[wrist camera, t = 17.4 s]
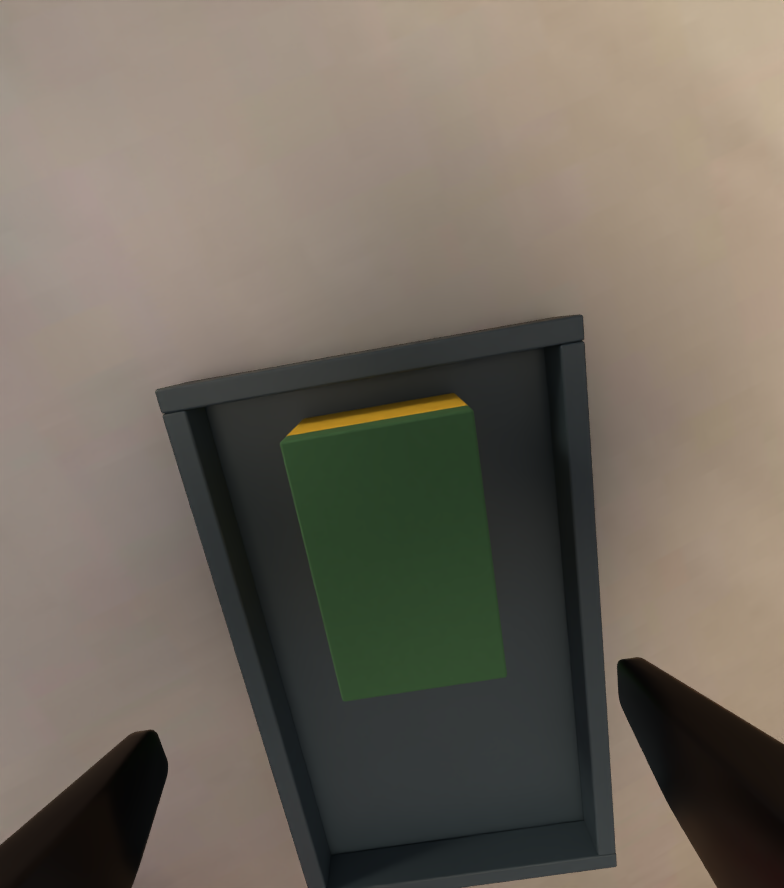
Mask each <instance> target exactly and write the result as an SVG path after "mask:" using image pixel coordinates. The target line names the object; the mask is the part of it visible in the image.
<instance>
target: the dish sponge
mask: <svg viewBox="0 0 784 888" xmlns="http://www.w3.org/2000/svg"><path fill="white" fill-rule="evenodd" d="M280 447H281V451H282V455H283V459H284V464H285V468H286V472H287V476H288V480H289V484H290V488H291V492H292V496H293V500H294V505H295V509H296V513H297V517H298V521H299V525H300V529H301V533H302V537H303V541H304V545H305V550H306V554H307V558H308V562H309V566H310V570H311V574H312V578H313V582H314V586H315V591H316V595H317V599H318V603H319V607H320V611H321V615H322V619H323V623H324V627H325V632H326V636H327V640H328V644H329V648H330V652H331V656H332V660H333V664H334V668H335V672H336V677H337V681H338V685H339V689H340V693H341V697H342V700H343V701H352V700H359V699H365V698H372V697H379V696H385V695H392V694H399V693H405V692H412V691H419V690H425V689H432V688H439V687H445V686H452V685H459V684H465V683H472V682H479V681H485V680H492V679H499V678H505V677H506V676H507V670H506V662H505V654H504V646H503V638H502V630H501V622H500V615H499V607H498V599H497V591H496V583H495V575H494V567H493V560H492V552H491V544H490V536H489V528H488V520H487V512H486V505H485V497H484V489H483V481H482V473H481V465H480V457H479V450H478V442H477V434H476V426H475V418H474V411H473V410H472V409H471V408H470V407H469V406H468V405H467V404H466V403H465V402H464V401H463V400H461V399H460V398H459V397H458V396H457V395H456V394H455V393H450V394H444V395H438V396H432V397H427V398H421V399H415V400H409V401H403V402H398V403H392V404H386V405H380V406H374V407H369V408H363V409H357V410H351V411H345V412H340V413H334V414H328V415H322V416H316V417H311V418H305V419H303V420H302V421H301V422H300V423H299V424H298V425H297V426H296V427H295V428H294V429H293V430H292V431H291V432H290V433H289V434H288V435H287V436H286V437H285V438H284V439H283V440H282V441H281V442H280Z"/></svg>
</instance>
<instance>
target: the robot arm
mask: <svg viewBox="0 0 784 888" xmlns="http://www.w3.org/2000/svg"><path fill="white" fill-rule="evenodd" d="M617 675H618V694H619V700H620V704H621V706H622V709H623V711H624V713H625V715H626V718H627V720H628V722H629V724H630V726H631V728H632V730H633V732H634V734H635V736H636V738H637V741H638V743H639V745H640V747H641V749H642V751H643V753H644V755H645V757H646V759H647V761H648V764H649V766H650V768H651V770H652V772H653V774H654V776H655V778H656V780H657V782H658V785H659V787H660V789H661V791H662V793H663V795H664V797H665V799H666V801H667V802H668V804H669V806H670V808H671V810H672V811H673V813H674V815H675V817H676V818H677V820H678V822H679V824H680V825H681V827H682V829H683V830H684V832H685V834H686V835H687V837H688V839H689V841H690V842H691V844H692V846H693V847H694V849H695V851H696V852H697V854H698V856H699V857H700V859H701V861H702V863H703V864H704V866H705V868H706V869H707V871H708V873H709V874H710V876H711V878H712V880H713V881H714V883H715V885H716V886H717V888H784V744H783V743H781V742H779V741H778V740H776V739H774V738H773V737H771V736H769V735H768V734H766V733H764V732H763V731H761V730H760V729H758V728H756V727H755V726H753V725H751V724H750V723H748V722H746V721H745V720H743V719H742V718H740V717H738V716H737V715H735V714H733V713H732V712H730V711H728V710H727V709H725V708H723V707H722V706H720V705H719V704H717V703H715V702H714V701H712V700H710V699H709V698H707V697H705V696H704V695H702V694H700V693H699V692H697V691H696V690H694V689H692V688H691V687H689V686H687V685H686V684H684V683H682V682H681V681H679V680H678V679H676V678H674V677H673V676H671V675H669V674H668V673H666V672H664V671H663V670H661V669H659V668H658V667H656V666H655V665H653V664H651V663H650V662H648V661H646V660H645V659H643V658H640V657H635V658H628V659H622V660H620V661H619V662H618V664H617ZM167 773H168V761H167V758H166V755H165V753H164V750H163V747H162V745H161V742H160V739H159V737H158V734H157V733H156V732H155V731H154V730H145V731H138V732H134V733H132V734H130V735H129V736H127V737H126V738H125V739H124V740H123V741H121V742H120V743H119V744H118V745H117V746H116V747H114V748H113V749H112V750H111V751H110V752H109V753H107V754H106V755H105V756H104V757H103V758H102V759H100V760H99V761H98V762H97V763H96V764H95V765H93V766H92V767H91V768H90V769H89V770H88V771H86V772H85V773H84V774H83V775H82V776H81V777H79V778H78V779H77V780H76V781H75V782H74V783H72V784H71V785H70V786H69V787H68V788H67V789H65V790H64V791H63V792H62V793H61V794H60V795H58V796H57V797H56V798H55V799H54V800H53V801H51V802H50V803H49V804H48V805H47V806H46V807H44V808H43V809H42V810H41V811H40V812H38V813H37V814H36V815H35V816H34V817H33V818H31V819H30V820H29V821H28V822H27V823H26V824H24V825H23V826H22V827H21V828H20V829H19V830H17V831H16V832H15V833H14V834H13V835H12V836H10V837H9V838H8V839H7V840H6V841H5V842H3V843H2V844H1V845H0V888H132V885H133V882H134V880H135V877H136V874H137V871H138V868H139V865H140V862H141V859H142V856H143V853H144V850H145V846H146V843H147V840H148V837H149V833H150V830H151V827H152V823H153V820H154V817H155V814H156V810H157V807H158V804H159V801H160V797H161V794H162V791H163V788H164V784H165V781H166V778H167Z"/></svg>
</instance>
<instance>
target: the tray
mask: <svg viewBox="0 0 784 888" xmlns="http://www.w3.org/2000/svg"><path fill="white" fill-rule="evenodd" d="M582 340H584V325H583V316H582V315H580V314H579V315H569V316H559V317H552V318H547V319H541V320H535V321H530V322H524V323H519V324H513V325H507V326H502V327H496V328H490V329H485V330H479V331H473V332H468V333H462V334H456V335H451V336H445V337H439V338H434V339H428V340H423V341H417V342H411V343H406V344H400V345H394V346H389V347H383V348H377V349H372V350H366V351H360V352H355V353H349V354H344V355H338V356H332V357H327V358H321V359H315V360H310V361H304V362H298V363H293V364H287V365H281V366H276V367H270V368H264V369H259V370H253V371H248V372H242V373H236V374H231V375H225V376H219V377H214V378H208V379H202V380H197V381H191V382H185V383H181V384H177V385H173V386H169V387H165V388H160V389H157V390H156V391H155V393H156V396H157V400H158V403H159V406H160V409H161V412H162V413H164V415H163V419H164V423H165V426H166V429H167V432H168V436H169V439H170V442H171V445H172V448H173V452H174V455H175V458H176V461H177V465H178V468H179V471H180V474H181V478H182V481H183V484H184V487H185V491H186V494H187V497H188V500H189V504H190V507H191V510H192V513H193V517H194V520H195V523H196V526H197V530H198V533H199V536H200V539H201V543H202V546H203V549H204V552H205V555H206V559H207V562H208V565H209V568H210V572H211V575H212V578H213V581H214V585H215V588H216V591H217V594H218V598H219V601H220V604H221V607H222V611H223V614H224V617H225V620H226V624H227V627H228V630H229V633H230V637H231V640H232V643H233V646H234V650H235V653H236V656H237V659H238V663H239V666H240V669H241V672H242V675H243V679H244V682H245V685H246V688H247V692H248V695H249V698H250V701H251V705H252V708H253V711H254V714H255V718H256V721H257V724H258V727H259V731H260V734H261V737H262V740H263V744H264V747H265V750H266V753H267V757H268V760H269V763H270V766H271V770H272V773H273V776H274V779H275V782H276V786H277V789H278V792H279V795H280V799H281V802H282V805H283V808H284V812H285V815H286V818H287V821H288V825H289V828H290V831H291V834H292V838H293V841H294V844H295V847H296V851H297V854H298V857H299V860H300V864H301V867H302V870H303V873H304V877H305V880H306V883H307V886H308V888H462V887H469V886H477V885H484V884H491V883H499V882H506V881H514V880H521V879H529V878H536V877H544V876H551V875H558V874H566V873H573V872H581V871H588V870H596V869H603V868H611V867H616V866H617V863H616V853H615V852H616V851H615V835H614V818H613V802H612V786H611V769H610V753H609V736H608V720H607V704H606V687H605V671H604V654H603V638H602V622H601V605H600V589H599V572H598V556H597V540H596V523H595V507H594V490H593V474H592V458H591V441H590V425H589V409H588V392H587V376H586V359H585V344H584V342H583V341H582ZM450 393H455V394H456V395H457V396H458V397H459V398H460V399H461V400H463V401H464V402H465V403H466V404H467V405H468V406H469V407H470V408H471V409H472V410H473V411H474V418H475V426H476V434H477V442H478V450H479V457H480V465H481V473H482V481H483V489H484V497H485V505H486V512H487V520H488V528H489V536H490V544H491V552H492V560H493V567H494V575H495V583H496V591H497V599H498V607H499V615H500V622H501V630H502V638H503V646H504V654H505V662H506V670H507V676H506V677H505V678H499V679H492V680H485V681H479V682H472V683H465V684H459V685H452V686H445V687H439V688H432V689H425V690H419V691H412V692H405V693H399V694H392V695H385V696H379V697H372V698H365V699H359V700H352V701H343V700H342V697H341V693H340V689H339V685H338V681H337V677H336V672H335V668H334V664H333V660H332V656H331V652H330V648H329V644H328V640H327V636H326V632H325V627H324V623H323V619H322V615H321V611H320V607H319V603H318V599H317V595H316V591H315V586H314V582H313V578H312V574H311V570H310V566H309V562H308V558H307V554H306V550H305V545H304V541H303V537H302V533H301V529H300V525H299V521H298V517H297V513H296V509H295V505H294V500H293V496H292V492H291V488H290V484H289V480H288V476H287V472H286V468H285V464H284V459H283V455H282V451H281V447H280V442H281V441H282V440H283V439H284V438H285V437H286V436H287V435H288V434H289V433H290V432H291V431H292V430H293V429H294V428H295V427H296V426H297V425H298V424H299V423H300V422H301V421H302V420H303V419H305V418H311V417H316V416H322V415H328V414H334V413H340V412H345V411H351V410H357V409H363V408H369V407H374V406H380V405H386V404H392V403H398V402H403V401H409V400H415V399H421V398H427V397H432V396H438V395H444V394H450Z"/></svg>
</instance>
